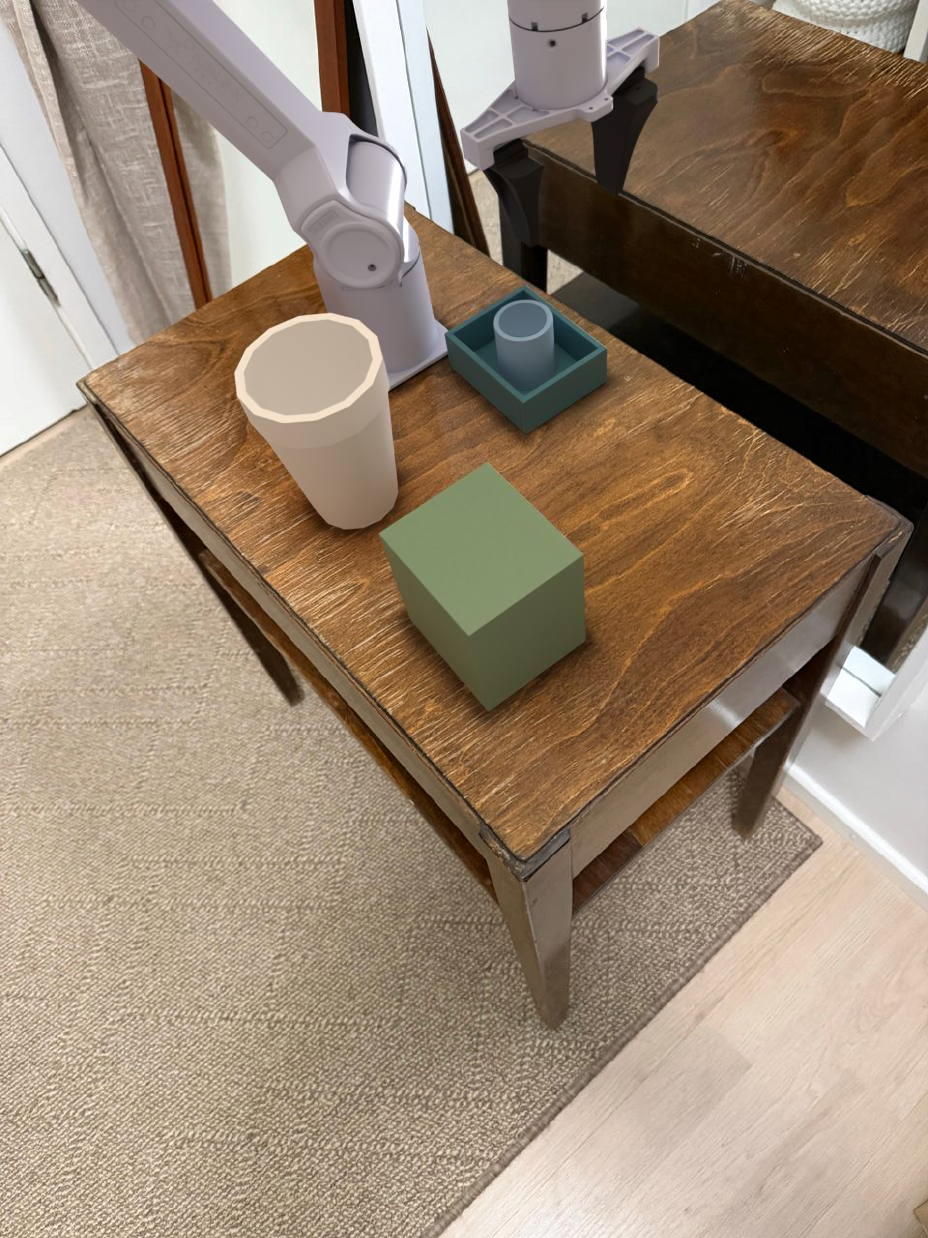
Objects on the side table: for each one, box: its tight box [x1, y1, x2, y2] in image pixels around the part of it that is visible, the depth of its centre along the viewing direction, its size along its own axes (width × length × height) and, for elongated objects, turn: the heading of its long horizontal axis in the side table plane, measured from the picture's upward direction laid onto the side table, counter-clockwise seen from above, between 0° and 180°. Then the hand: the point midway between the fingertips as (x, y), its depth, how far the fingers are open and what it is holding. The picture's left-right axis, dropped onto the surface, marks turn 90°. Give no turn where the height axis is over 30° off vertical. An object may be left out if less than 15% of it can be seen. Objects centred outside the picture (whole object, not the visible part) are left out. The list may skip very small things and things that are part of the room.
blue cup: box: [493, 300, 555, 390], centre depth 67 cm, size 4×4×5 cm
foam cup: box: [234, 312, 399, 530], centre depth 60 cm, size 10×9×13 cm
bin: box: [444, 284, 608, 435], centre depth 68 cm, size 10×8×3 cm
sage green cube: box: [378, 461, 587, 713], centre depth 54 cm, size 9×8×10 cm
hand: (568, 213), depth 63 cm, fingers open, 7 cm apart
